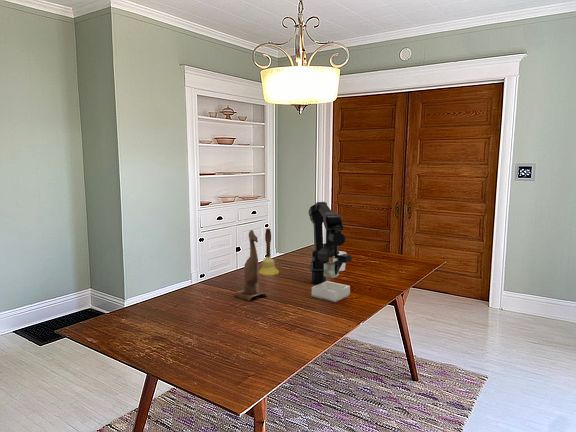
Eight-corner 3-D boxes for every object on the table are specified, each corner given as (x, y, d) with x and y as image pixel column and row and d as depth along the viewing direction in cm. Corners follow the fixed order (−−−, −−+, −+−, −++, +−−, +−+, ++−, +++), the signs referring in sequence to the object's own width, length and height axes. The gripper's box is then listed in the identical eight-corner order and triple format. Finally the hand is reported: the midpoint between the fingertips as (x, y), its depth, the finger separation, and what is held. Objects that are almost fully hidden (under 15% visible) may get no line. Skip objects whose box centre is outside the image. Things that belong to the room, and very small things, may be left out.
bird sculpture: (250, 303, 196) (251, 234, 190) (233, 296, 203) (234, 229, 198) (268, 297, 204) (269, 230, 199) (251, 291, 212) (252, 227, 206)
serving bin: (311, 296, 204) (311, 287, 203) (327, 289, 214) (327, 280, 213) (334, 302, 196) (335, 292, 195) (349, 295, 206) (350, 286, 205)
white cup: (345, 271, 245) (345, 254, 244) (331, 271, 247) (331, 253, 246) (346, 268, 253) (346, 251, 252) (333, 267, 255) (333, 250, 253)
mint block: (323, 276, 203) (323, 263, 202) (329, 273, 207) (329, 261, 206) (332, 278, 200) (333, 265, 199) (338, 275, 204) (338, 263, 203)
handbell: (283, 273, 243) (283, 229, 239) (264, 276, 236) (264, 231, 232) (271, 268, 253) (271, 226, 249) (253, 271, 246) (252, 228, 242)
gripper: (305, 241, 200) (305, 273, 203) (339, 246, 189) (339, 281, 191) (319, 237, 209) (318, 268, 211) (352, 242, 197) (351, 275, 200)
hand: (331, 273), depth 203 cm, fingers closed on mint block, 5 cm apart
